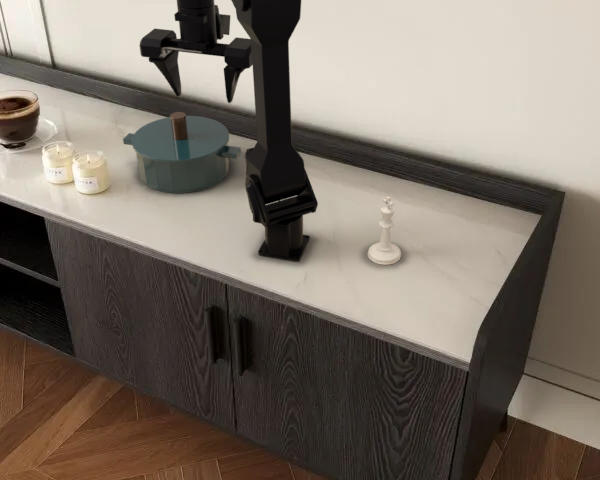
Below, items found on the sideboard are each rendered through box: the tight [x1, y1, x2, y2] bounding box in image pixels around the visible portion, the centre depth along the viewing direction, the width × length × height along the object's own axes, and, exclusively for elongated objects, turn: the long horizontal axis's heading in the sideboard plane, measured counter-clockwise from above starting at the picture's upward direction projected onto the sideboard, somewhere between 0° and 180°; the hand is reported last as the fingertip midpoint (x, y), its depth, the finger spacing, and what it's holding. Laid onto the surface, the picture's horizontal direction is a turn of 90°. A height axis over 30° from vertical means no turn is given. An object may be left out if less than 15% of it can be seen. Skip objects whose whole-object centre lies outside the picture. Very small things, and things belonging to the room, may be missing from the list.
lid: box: [131, 111, 230, 163], centre depth 129 cm, size 17×17×5 cm
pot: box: [122, 132, 242, 194], centre depth 133 cm, size 16×21×6 cm
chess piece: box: [367, 195, 402, 266], centre depth 111 cm, size 5×5×10 cm
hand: (204, 98), depth 127 cm, fingers open, 9 cm apart
